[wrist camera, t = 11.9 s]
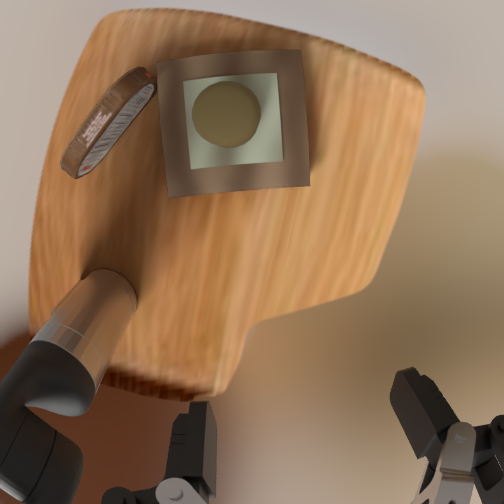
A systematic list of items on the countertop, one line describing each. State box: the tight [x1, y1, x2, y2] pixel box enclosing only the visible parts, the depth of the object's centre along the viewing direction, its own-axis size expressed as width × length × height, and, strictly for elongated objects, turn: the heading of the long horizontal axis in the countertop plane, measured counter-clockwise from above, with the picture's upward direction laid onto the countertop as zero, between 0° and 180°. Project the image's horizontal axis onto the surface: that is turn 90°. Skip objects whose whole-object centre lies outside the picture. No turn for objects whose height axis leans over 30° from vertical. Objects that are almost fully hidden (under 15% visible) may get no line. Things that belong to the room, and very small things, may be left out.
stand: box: [156, 50, 310, 198], centre depth 31 cm, size 16×16×4 cm
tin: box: [60, 67, 157, 179], centre depth 28 cm, size 15×3×8 cm, turn 135°
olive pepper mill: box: [192, 81, 261, 148], centre depth 24 cm, size 6×6×11 cm
